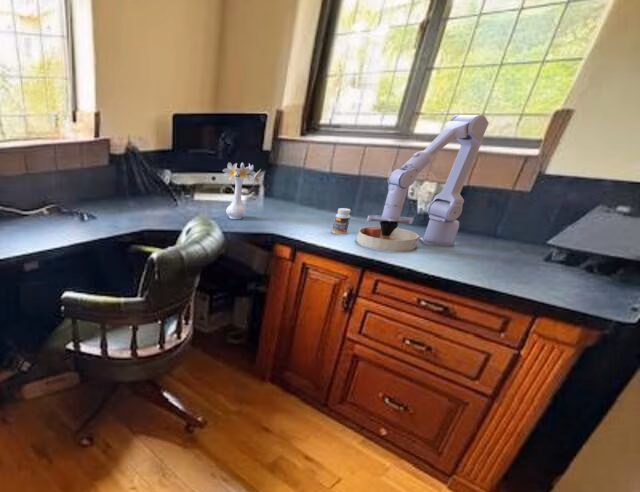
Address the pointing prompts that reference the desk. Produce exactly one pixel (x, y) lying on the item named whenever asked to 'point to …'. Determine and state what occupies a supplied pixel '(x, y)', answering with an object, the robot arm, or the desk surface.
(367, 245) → the bowl
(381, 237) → the beech block
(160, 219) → the desk surface
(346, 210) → the pill bottle
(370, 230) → the terracotta block
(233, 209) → the flower vase
